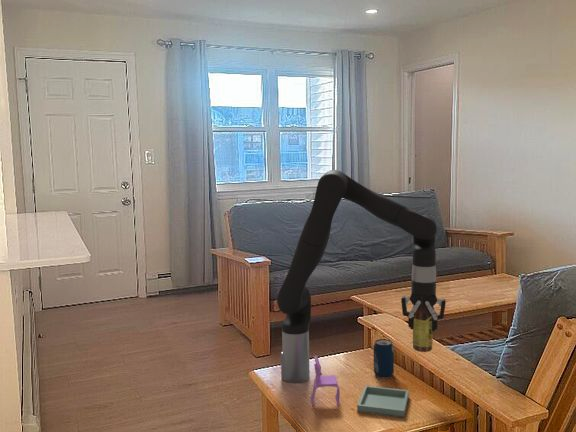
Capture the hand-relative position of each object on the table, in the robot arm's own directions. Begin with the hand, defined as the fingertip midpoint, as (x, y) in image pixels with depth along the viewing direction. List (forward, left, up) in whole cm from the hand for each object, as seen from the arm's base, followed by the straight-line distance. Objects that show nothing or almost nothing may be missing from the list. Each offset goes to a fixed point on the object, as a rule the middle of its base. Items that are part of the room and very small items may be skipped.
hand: (422, 329), depth 174 cm
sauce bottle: (0, 0, -7) cm, 7 cm away
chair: (-29, -15, -21) cm, 39 cm away
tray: (-11, -12, -21) cm, 26 cm away
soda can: (-14, +10, -21) cm, 28 cm away
